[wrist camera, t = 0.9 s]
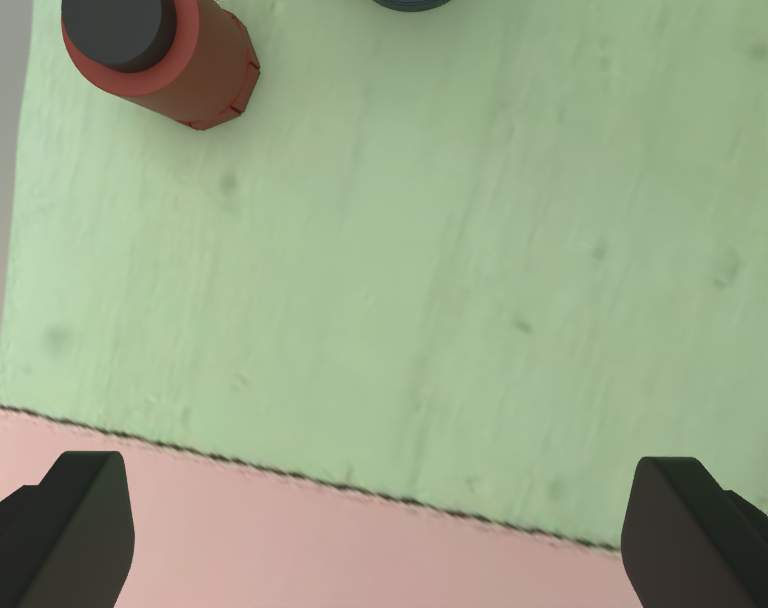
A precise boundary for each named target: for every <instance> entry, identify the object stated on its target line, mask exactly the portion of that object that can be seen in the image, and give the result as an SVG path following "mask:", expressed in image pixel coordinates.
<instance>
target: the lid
mask: <svg viewBox="0 0 768 608" xmlns="http://www.w3.org/2000/svg"><path fill="white" fill-rule="evenodd" d="M61 10H62V13H61V25H62V34H63V39H64V42H65V46H66V49H67V51H68V53H69V55H70V58H71V59H72V61H73V63H74V64H75V66H76V67H77V69H78V70H79V71H80V72H81V74H82V75H83V76H84V77H85V78H86V79H87V80H88V81H90V82H91V83H92V84H94V85H95V86H96V87H98V88H100V89H102V90H104V91H106V92H108V93H111V94H113V95H116V96H118V97H120V98H123V99H125V100H128V101H130V102H133V103H135V104H138V105H140V106H142V107H145V108H147V109H150V110H152V111H155V112H157V113H160V114H162V115H164V116H167V117H169V118H171V119H173V120H175V121H178V122H180V123H182V124H184V125H186V126H188V127H191V128H193V129H196V130H199V129H200V130H206V129H208V128H211V127H213V126H216V125H218V124H221V123H223V122H226V121H228V120H230V119H233V118H235V117H238V116H240V113H239V111H241V112H244V110H245V108H246V105H247V103H248V100H249V98H250V96H251V93H252V91H253V89H254V86H255V84H256V81H257V79H258V77H259V74H260V72H259V71H258V70H257V69H259V68H260V65H259V63H258V60H257V57H256V54H255V51H254V49H253V46H252V43H251V40H250V38H249V35H248V32H247V29H246V27H245V26H244V25H243V24H242V22H241V21H240V20H239V19H238V18H237V17H236V16H235V15H234V14H232V13H230V12H228V11H226V10H224V9H222V8H221V7H220V6H219V5H218V4H217V3H216V2H215V1H214V0H62V7H61Z"/></svg>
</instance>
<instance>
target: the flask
mask: <svg viewBox="0 0 768 608" xmlns="http://www.w3.org/2000/svg"><path fill="white" fill-rule="evenodd" d="M374 1H375V2H377V3H379V4H381V5H383V6H385V7H388V8H390V9H394V10H399V11H407V12H414V11H423V10H428V9H432V8H435V7H438V6H440V5H442V4H444V3H446V2H448V1H449V0H374Z"/></svg>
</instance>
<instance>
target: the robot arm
mask: <svg viewBox="0 0 768 608" xmlns="http://www.w3.org/2000/svg"><path fill="white" fill-rule="evenodd" d="M134 542H135V533H134V525H133V518H132V511H131V504H130V498H129V491H128V484H127V477H126V471H125V464H124V460H123V457H122V455H121V454H120V452H118V451H66V452H64V453H62V454H61V455H60V456H59V458H58V459H57V460H56V462H55V463H54V464H53V466H52V467H51V468H50V470H49V471H48V473H47V474H46V475H45V477H44V478H43V479H42V481H41V482H40V483H39V485H23V486H22V487H21V488H19V489H18V490H16V491H15V492H13V493H12V494H11V495H9V496H8V497H6V498H5V499H4V500H2V501H1V502H0V608H113V607H114V605H115V603H116V601H117V598H118V596H119V594H120V592H121V589H122V587H123V585H124V583H125V580H126V578H127V576H128V573H129V570H130V567H131V563H132V558H133V552H134ZM621 553H622V559H623V564H624V568H625V571H626V573H627V576H628V578H629V580H630V582H631V584H632V586H633V588H634V590H635V592H636V594H637V596H638V598H639V600H640V602H641V604H642V606H643V608H768V516H767V515H766V514H765V513H764V512H762V511H761V510H759V509H758V508H756V507H755V506H754V505H752V504H751V503H749V502H748V501H746V500H745V499H744V498H742V497H741V496H739V495H738V494H736V493H735V492H733V491H732V490H723V489H722V488H721V487H720V485H719V484H718V483H717V482H716V481H715V479H714V478H713V477H712V476H711V474H710V473H709V472H708V471H707V470H706V468H705V467H704V466H703V465H702V463H701V462H700V461H699V460H697V459H696V458H694V457H643V458H641V459H640V461H639V462H638V464H637V467H636V471H635V475H634V480H633V484H632V488H631V493H630V497H629V502H628V506H627V511H626V515H625V520H624V524H623V528H622V534H621Z"/></svg>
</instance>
